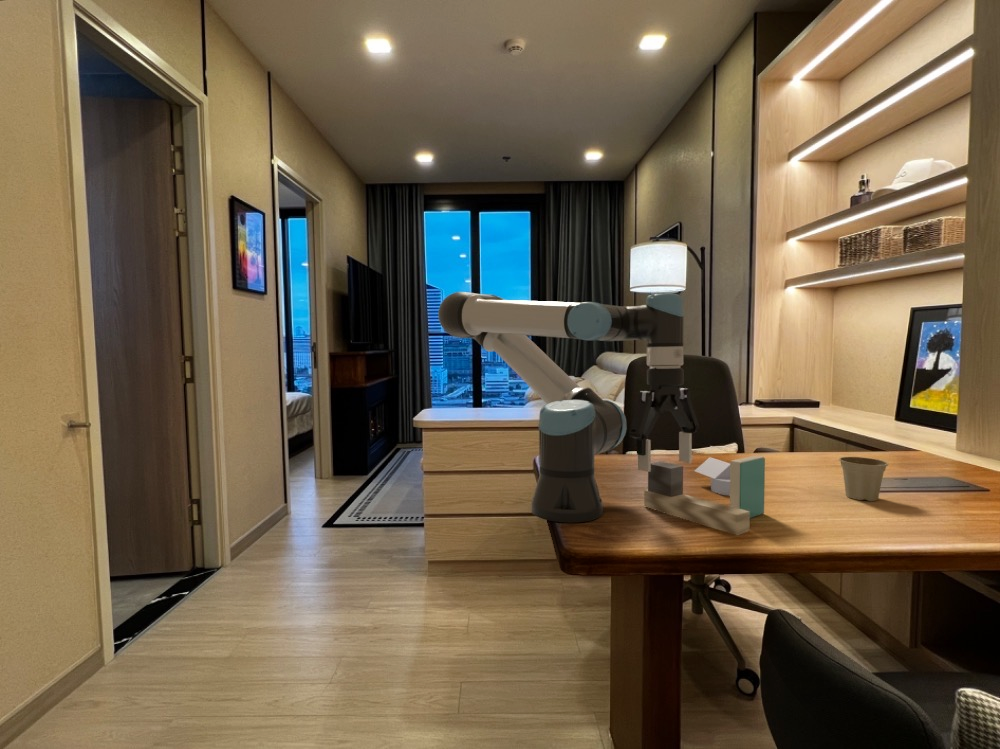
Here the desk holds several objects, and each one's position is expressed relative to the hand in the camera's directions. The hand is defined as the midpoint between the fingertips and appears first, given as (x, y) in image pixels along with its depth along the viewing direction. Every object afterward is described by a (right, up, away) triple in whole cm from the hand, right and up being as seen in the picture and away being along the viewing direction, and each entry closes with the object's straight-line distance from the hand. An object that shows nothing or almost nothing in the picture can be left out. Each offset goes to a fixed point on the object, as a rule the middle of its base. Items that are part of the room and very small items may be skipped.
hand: (665, 466), depth 115 cm
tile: (+15, -10, -4) cm, 19 cm away
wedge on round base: (+20, -9, +17) cm, 28 cm away
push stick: (+4, -10, -5) cm, 12 cm away
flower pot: (+48, -9, +8) cm, 50 cm away
